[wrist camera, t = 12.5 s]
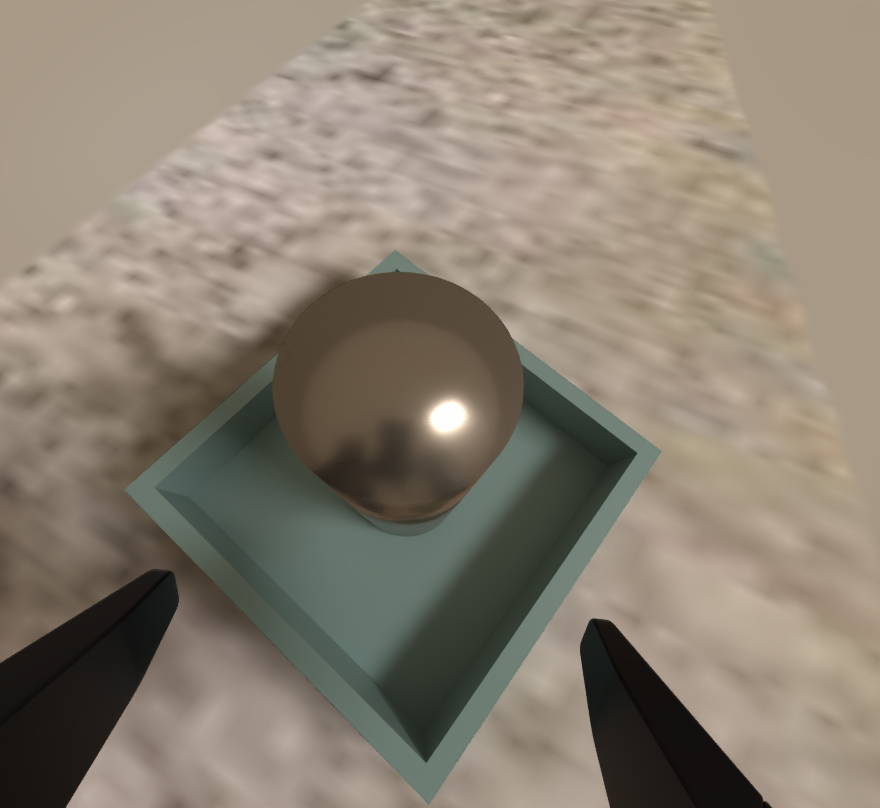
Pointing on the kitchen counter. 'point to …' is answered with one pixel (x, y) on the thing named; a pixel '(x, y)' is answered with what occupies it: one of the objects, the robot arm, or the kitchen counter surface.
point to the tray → (400, 558)
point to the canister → (398, 395)
